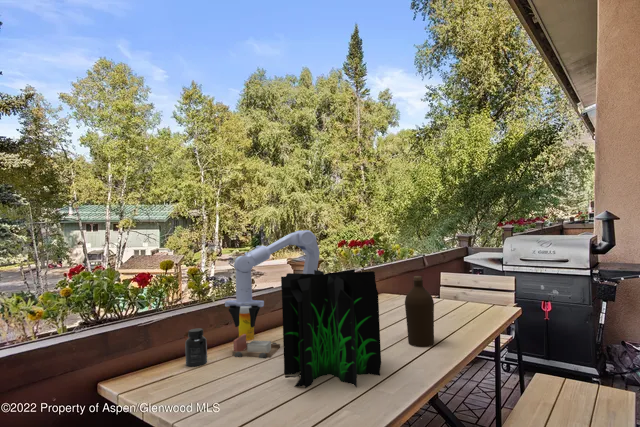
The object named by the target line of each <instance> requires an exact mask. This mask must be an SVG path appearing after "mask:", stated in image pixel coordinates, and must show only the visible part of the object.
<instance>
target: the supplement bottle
mask: <svg viewBox="0 0 640 427" xmlns="http://www.w3.org/2000/svg"><path fill="white" fill-rule="evenodd" d="M187 332H188V333H187V337H188V338H187V339H186V340H185V345H184V346H185V366H186V367H187V368H197V367H202V366H205V365H207V363H208V347H207V346H208V345H207V340H208V339H207V338H206V337H205V336H204V329H203V328H201V327H199V328H192V329H189V330H188V331H187Z"/></svg>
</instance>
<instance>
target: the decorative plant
mask: <svg viewBox="0 0 640 427" xmlns="http://www.w3.org/2000/svg"><path fill="white" fill-rule="evenodd" d="M375 273H376V271H374V270H373V271H372V270H371V271H358V272H356V271H355V268H354V269H348V270H343V271H342V270H341V271H337V272H335V271H334V272H328V273H327V272H326V273H325V272H324V271H323V270H322V271H321V270H318V269H317V271H316V270H314V274H303V273H292V272H288V273H286V276H285V275H284V276H280V284H281V305H282V306H281V308H282V309H281V311H282V312H281V314H282V336H283V337H282V339H283V340H282V341H283V374H284V375H285V376H284V378H285V379H287V378H297V377H299V380H298V381H297V382H296V383H295V384H294V386H293V387H294V388H296V387H297V388H298V387H304V389H307V388H309V387H311V386H312V385H313V384H314V381H315V380H317V379H319V378H320V377H325V376H333V377H334V378H337V379H338V380H339V381H340V382H341V383H345V384H348V385H349V384H350V385H353V386H354V387H355V388H358V383H357V381H358V380H357V379H358V375H359V376H364V375H373V376H379V377H380V376H381V367H382V352H381V351H382V349H381V329H380V328H381V326H380V306H379V305H380V304H379V302H380V301H379V290H378V288H377V282H376V275H375ZM296 374H298V375H297V376H295V375H296ZM291 375H293V376H291Z"/></svg>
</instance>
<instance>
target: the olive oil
mask: <svg viewBox="0 0 640 427" xmlns="http://www.w3.org/2000/svg"><path fill="white" fill-rule="evenodd" d="M423 281H424V280H423V276H421V275H415V276H413V280H412V282H413V286H412V288H411V289H410V291H408V292H407V294H406V296H405V299H404V307H405V308H404V310H405V319H406V328H407V329H406V330H407V343H408V344H409V345H410V346H413V347H418V348H419V347H420V348H425V347H426V348H428V347H431V346H433V345H434V344H435V328H434V327H435V323H434V322H435V302H434V301H435V300H434V298H433V296H432V294H430V292H429V291H428V290H427V289H426V288H425V287H424V285H423V284H424V282H423Z"/></svg>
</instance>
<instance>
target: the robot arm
mask: <svg viewBox="0 0 640 427" xmlns="http://www.w3.org/2000/svg"><path fill="white" fill-rule="evenodd" d="M288 246H296V247H297V248H299V249H301V251H302V252H303V253H304V255H305V258H304V264H303V269H302V274H314V270H316V271H317V270H318V266H319V261H320V260H319V258H320V253H321V251H320V249H319V248H320V247H319V245H318V241H317V236H316V235H315V234H314V233H313V232H312V231H311V230H308V229H305V230H299V229H298V230H296V231H294V232H290V233H289V234H287V235H285V236H283V237H281V238H279V239H278V240H276V241H274V242H272V243H271V244H269V245H267V246H265V245H263V244H262V245H256V246H255V249H252V250H251V251H249V252H248V251H246V252H244V255H240V256H238V257H236V258H235V260H234V263H233V267H234V269H235V295H236V296H235V299H234V300H233V299H232V300H228V299H227V300H225V301H224V306H225V307H229V308H227V309H228V312H229V313H230V315H231V318H232V320H233V323H234V327H235V328H239V324H240V321H239V313H240V306H251V308H249V313H250V325H251V327H254V328H255V326H256V322H257V321H256V320H257V316H258V314H259V311H260V309H261V308H263V307H264V306H265V301H264V300H258V299H257V300H256V299H253V289H252V288H253V282H252V280H253V279H252V269H253V268H254V267H257V266H258V265H260V264H262V263H264V262H266V261H267V260H270V257H271V255H272V254H273V253H276V252H278V251H280V250H282V249H284V248H286V247H288Z"/></svg>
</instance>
